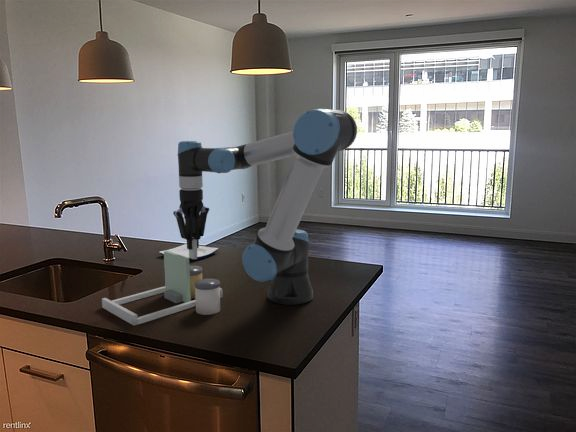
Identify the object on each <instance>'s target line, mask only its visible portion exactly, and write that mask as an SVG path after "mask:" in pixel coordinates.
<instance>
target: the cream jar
mask: <svg viewBox="0 0 576 432" xmlns="http://www.w3.org/2000/svg"><path fill="white" fill-rule="evenodd" d="M220 285H221V282H220V280H219V279H216V278H202V279H201V280H198V281H196V282H195V298H194V300H196V306H195V312H196V313H197V314H199V315H204V316H206V315H207V316H209V315H215V314H217V313H220V311H221V298H220V288H221V286H220Z"/></svg>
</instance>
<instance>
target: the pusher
mask: <svg viewBox="0 0 576 432" xmlns="http://www.w3.org/2000/svg"><path fill="white" fill-rule="evenodd" d="M163 251H164V255H163V265H164V286H165V287H166V291H164V292H163V295H164V296H163V297H164V299H166V300H168V301H170V302H172V303H175V304H179V303H182V302H183V303H186V302H189V301H192V299H191V292H190V268H189V266H190V261H189V258H188V257H184V256H181V255H178V254H175V253H172V252H169V251H165V250H163Z"/></svg>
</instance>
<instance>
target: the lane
mask: <svg viewBox="0 0 576 432" xmlns="http://www.w3.org/2000/svg"><path fill="white" fill-rule="evenodd" d="M164 291H166V287H165V285H164V286H160V287H156V288H154V289H153V288H152V289H149V290H146V291H142V292H138V293H135V294H132V295H127V296H124V297H120V298H116V299H113V300H111V299H109V298H107V297H103V298H101V305H102V309H104V310H106V311H107V312H110V314H112V315H114V316H116V317H118V318H120V319H121V320H123V321H125V322H126V323H128V324H130V325H132V326H138V325H141V324H144V323H147V322H151V321H154V320H157V319H160V318H163V317H165V316H168V315H173V314H175V313H178V312H179V313H180V312H182V311H185V310H187V309H191V308H193V307H194V308H195V307H196V299H194V300H191V301H189V302H186V303H185V302H183V303H180V304H177V305H173V306H171V307H167V308H164V309H160V310H157V311H154V312H151V313H148V314H145V315H142V316H138V314H137V313H135V312H133V311H131V310H129V309H127V308H126V307H124V306H122V305H123V304H127V303H130V302H134V301H135V302H136V301H138V300H140V299H141V300H142V299H145V298H148V297H151V296H156V295H159V294H162V293H163V294H164ZM223 294H224V291H223V288H221V287H220V299H222V298H224V297H223Z"/></svg>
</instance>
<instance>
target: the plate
mask: <svg viewBox="0 0 576 432" xmlns="http://www.w3.org/2000/svg"><path fill="white" fill-rule="evenodd" d="M218 250H220V249H219V247H212V246H211V247H209V246H203V245H199V247H198V248H197V259H191V258H189V249H187V243H185V244H182V245H180V246H177V247H173V248H170V249H167V250H166V249H165V250H162V251H159V252H158V253H159V254H160V255H161V256H164V251H169V252H172V253H175V254H178V255H181V256H184V257H188V258H189V262H191V261H196V260H200V259H204V258H206V257H209V256H211V255H213V254H215V253H216V252H217V251H218Z"/></svg>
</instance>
